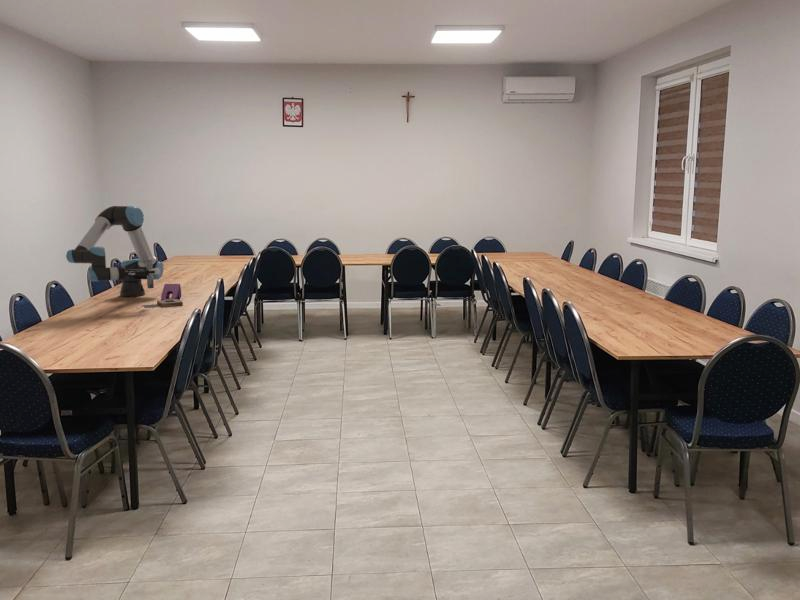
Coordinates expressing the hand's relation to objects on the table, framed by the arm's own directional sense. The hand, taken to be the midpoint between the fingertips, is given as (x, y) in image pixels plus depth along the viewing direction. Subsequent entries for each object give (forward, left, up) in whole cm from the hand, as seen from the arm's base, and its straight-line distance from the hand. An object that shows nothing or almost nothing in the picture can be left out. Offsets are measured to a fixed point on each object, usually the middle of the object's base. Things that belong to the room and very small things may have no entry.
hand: (159, 271), depth 428 cm
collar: (+1, +5, -21) cm, 21 cm away
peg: (0, -5, -10) cm, 11 cm away
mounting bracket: (-17, +10, -21) cm, 29 cm away
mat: (0, -6, -21) cm, 22 cm away
